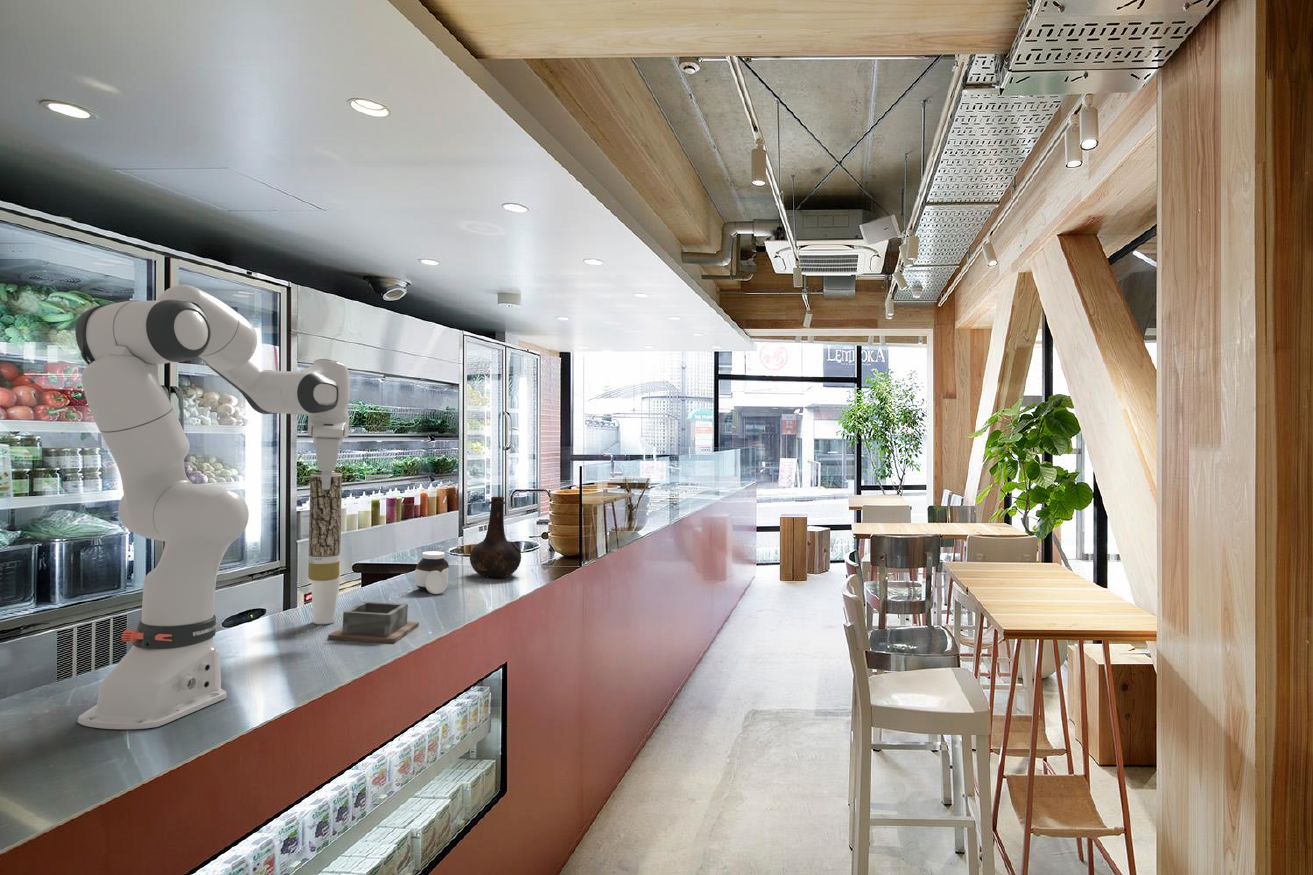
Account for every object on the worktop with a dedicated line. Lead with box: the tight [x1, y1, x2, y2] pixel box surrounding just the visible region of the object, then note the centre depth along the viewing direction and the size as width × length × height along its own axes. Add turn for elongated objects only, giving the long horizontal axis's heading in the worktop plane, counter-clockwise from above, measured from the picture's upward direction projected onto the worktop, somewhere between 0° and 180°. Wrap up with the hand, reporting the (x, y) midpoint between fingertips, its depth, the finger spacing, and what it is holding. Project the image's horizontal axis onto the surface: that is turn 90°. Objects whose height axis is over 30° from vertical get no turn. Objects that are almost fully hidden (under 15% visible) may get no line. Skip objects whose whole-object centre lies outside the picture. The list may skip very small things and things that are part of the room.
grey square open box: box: [327, 601, 420, 644], centre depth 180 cm, size 16×16×6 cm
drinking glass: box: [310, 563, 342, 626], centre depth 187 cm, size 7×7×15 cm
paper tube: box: [307, 472, 343, 581], centre depth 173 cm, size 7×7×25 cm
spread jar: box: [414, 550, 450, 595], centre depth 229 cm, size 12×11×12 cm
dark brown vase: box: [469, 496, 522, 579], centre depth 258 cm, size 18×18×28 cm
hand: (326, 487), depth 172 cm, fingers closed on paper tube, 7 cm apart
